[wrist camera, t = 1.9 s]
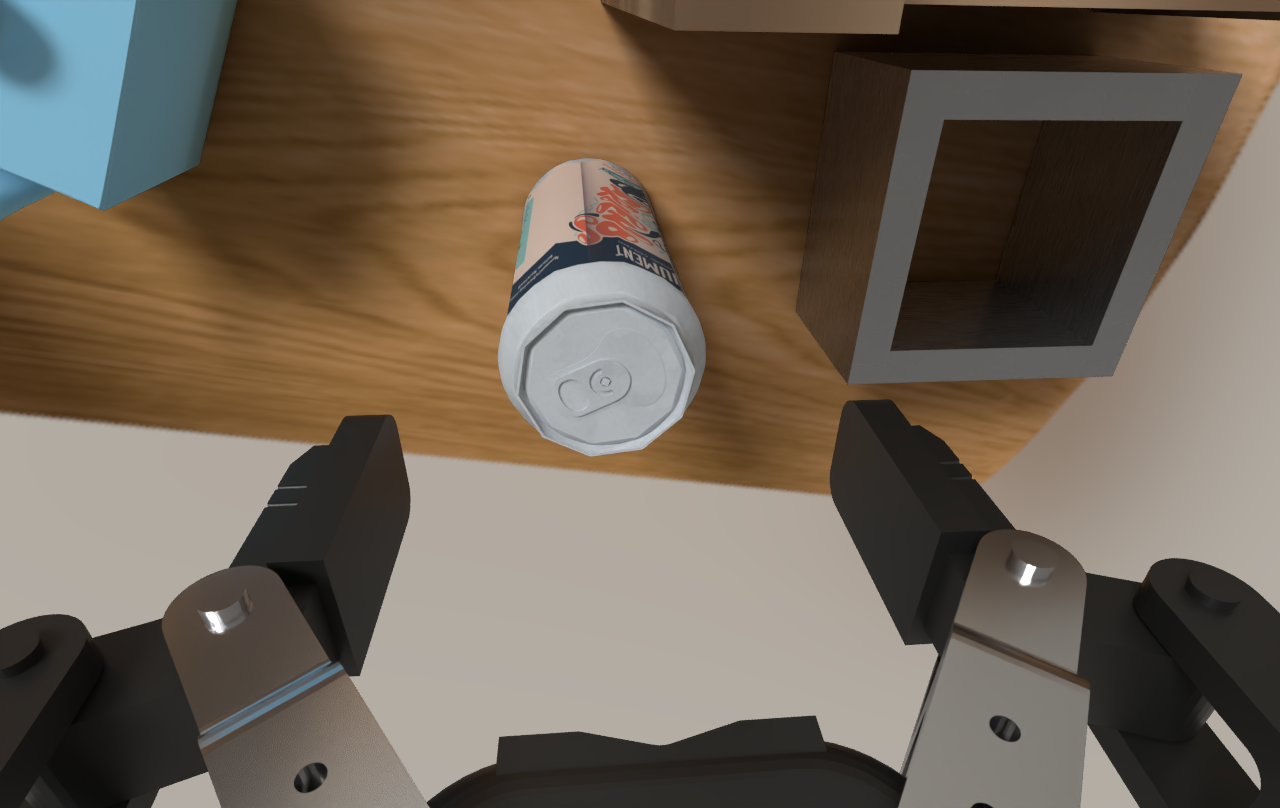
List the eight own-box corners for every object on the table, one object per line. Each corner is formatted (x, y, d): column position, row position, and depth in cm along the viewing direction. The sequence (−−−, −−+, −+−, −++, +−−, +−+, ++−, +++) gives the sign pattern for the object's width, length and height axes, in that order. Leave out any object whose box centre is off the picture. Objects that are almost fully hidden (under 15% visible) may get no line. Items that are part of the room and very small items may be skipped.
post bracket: (795, 311, 28) (847, 384, 23) (834, 51, 23) (911, 70, 18) (1014, 306, 29) (1112, 376, 23) (1096, 55, 24) (1242, 74, 19)
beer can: (673, 252, 26) (743, 422, 16) (561, 304, 27) (559, 500, 16) (620, 130, 24) (662, 239, 13) (498, 191, 24) (449, 338, 14)
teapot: (191, 245, 24) (58, 337, 18) (-10, 163, 22) (-241, 233, 16) (279, -124, 19) (138, -179, 13) (30, -272, 17) (-284, -424, 11)
